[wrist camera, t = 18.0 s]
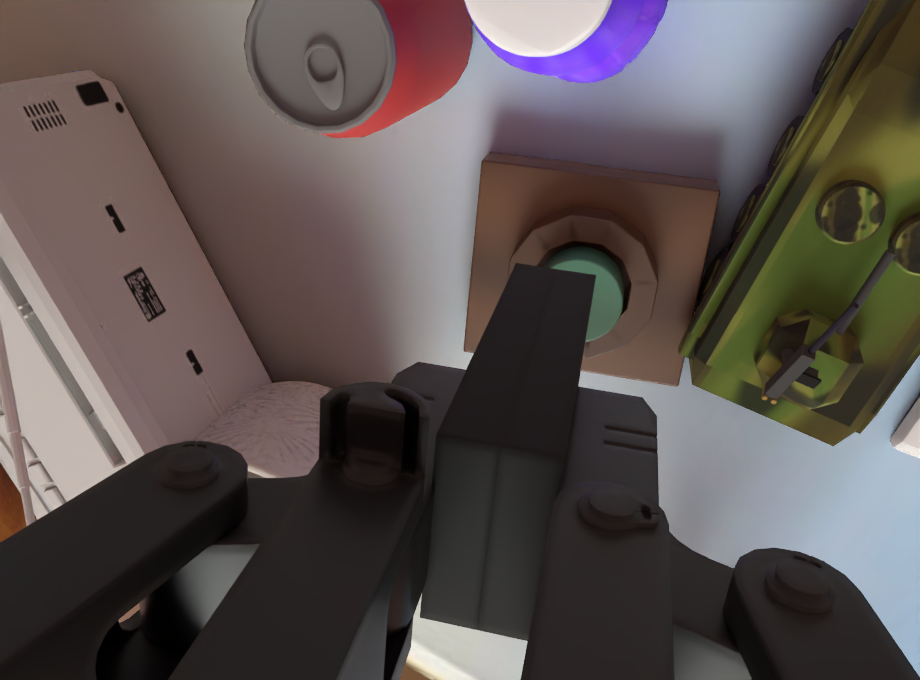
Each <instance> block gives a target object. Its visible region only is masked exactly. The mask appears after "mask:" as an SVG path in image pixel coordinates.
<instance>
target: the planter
mask: <svg viewBox="0 0 920 680" xmlns="http://www.w3.org/2000/svg"><path fill="white" fill-rule="evenodd" d="M330 390H332V388H329V387H326V386H323V385H320V384H316V383H311V382H304V381H285V382H276V383H271V384H267V385H264V386H261V387H258V388H256V389H254V390H252V391H250V392H249V393H247V394H246V395H244V396H243V397H242V398H240V399H239V400H238V401H236V402H235V403H234V404H233V405H232V406H230V407H229V408H228V409H227V410H226V411H224V412H223V413H222V414H221V415H220V416H219V417H218V418H217V419H215V420H214V421H213V422H212V423H211V424H210V425H209V426H208V427H207V428H206V429H204V430H203V431H202V432H201V433H200V434H199V435H198V436H197V437H196V438H195V439H194V440H192V441H208V442H213V443H218V444H222V445H227V446H229V447H230V448H232V449H234V450H236V451H237V452H239V453H241V454H242V456H243V458H244V459H245V461H246V462H247V464H248V478H286V477H299V476H304V475H308V474H309V472H310V471H311V469H312V468H313V466H314V465H315V463H316V462H317V460H318V459H319V427H320V398H321V397H323V396H324V395H325V394H327V393H328V392H329V391H330Z"/></svg>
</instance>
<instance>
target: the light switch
mask: <svg viewBox="0 0 920 680" xmlns="http://www.w3.org/2000/svg"><path fill="white" fill-rule="evenodd" d="M890 442H891V444H892V446H893V447H894V448H895V449H897V450H899V451H902V452H905V453H907V454H910V455H912V456H915V457H918V458H920V397H919V398H918V400H917V401H916V403H915V404H914V406H913V407H912V408H911V410H910V411H909V413H908V414H907V416H906V417H905V418H904V420H903V421H902V423H901V424H900V426H899V427H898V428H897V430H896V431H895V433H894V434H893V436H892V437H891V441H890Z"/></svg>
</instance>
